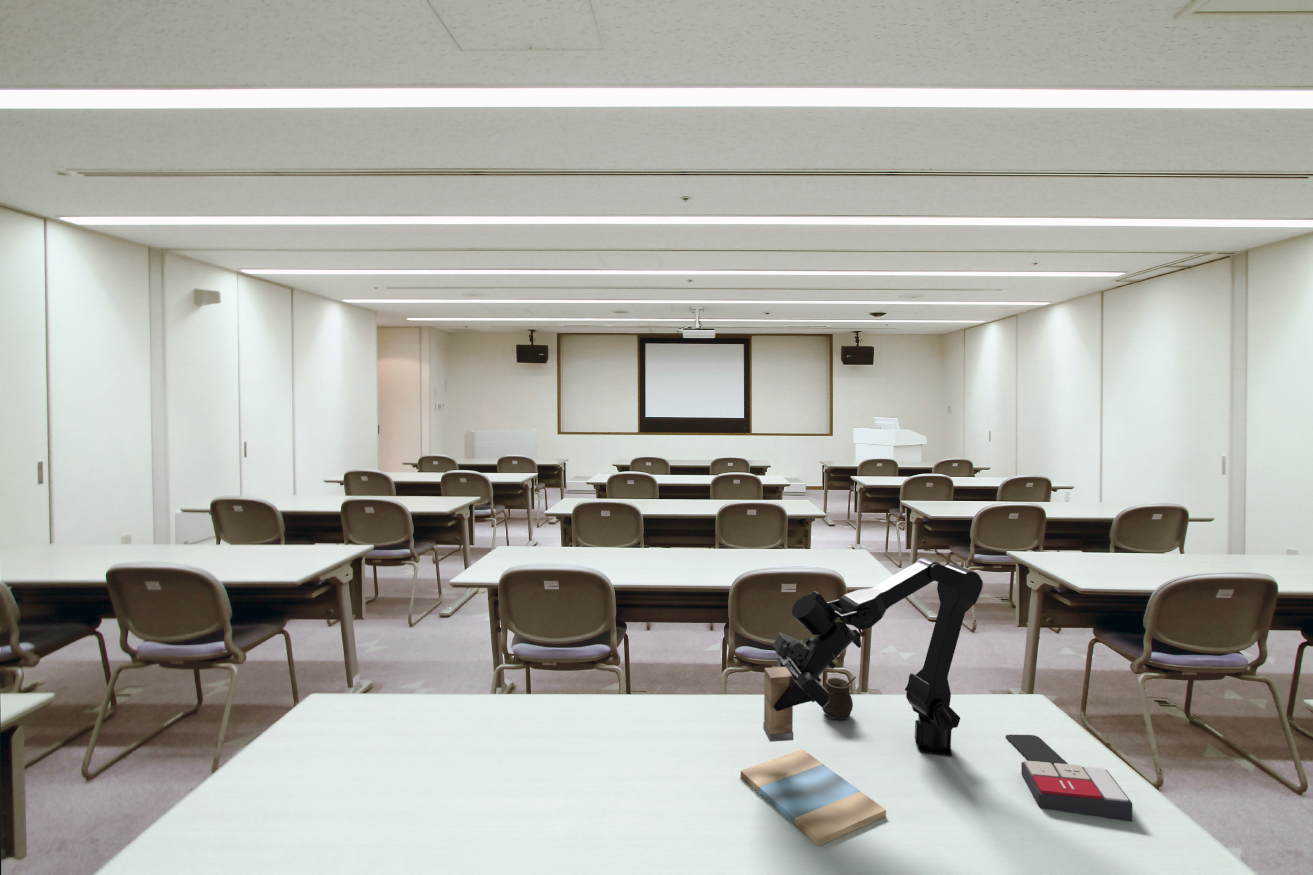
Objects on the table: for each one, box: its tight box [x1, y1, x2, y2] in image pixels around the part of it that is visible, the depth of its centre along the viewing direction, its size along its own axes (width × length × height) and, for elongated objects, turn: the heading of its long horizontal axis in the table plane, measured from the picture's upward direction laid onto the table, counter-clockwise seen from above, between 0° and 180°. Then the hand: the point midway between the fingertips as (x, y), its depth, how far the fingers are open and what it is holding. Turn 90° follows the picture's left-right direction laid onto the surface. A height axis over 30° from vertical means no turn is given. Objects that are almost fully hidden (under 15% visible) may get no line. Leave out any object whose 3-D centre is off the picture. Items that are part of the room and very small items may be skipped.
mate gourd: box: [822, 676, 857, 721], centre depth 150 cm, size 7×8×10 cm
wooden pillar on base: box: [762, 666, 794, 743], centre depth 129 cm, size 5×5×13 cm
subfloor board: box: [740, 749, 887, 847], centre depth 121 cm, size 22×16×1 cm
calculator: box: [1020, 760, 1133, 822], centre depth 121 cm, size 11×4×15 cm
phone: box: [1005, 734, 1069, 764], centre depth 134 cm, size 7×1×15 cm
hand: (771, 703), depth 129 cm, fingers closed on wooden pillar on base, 4 cm apart
